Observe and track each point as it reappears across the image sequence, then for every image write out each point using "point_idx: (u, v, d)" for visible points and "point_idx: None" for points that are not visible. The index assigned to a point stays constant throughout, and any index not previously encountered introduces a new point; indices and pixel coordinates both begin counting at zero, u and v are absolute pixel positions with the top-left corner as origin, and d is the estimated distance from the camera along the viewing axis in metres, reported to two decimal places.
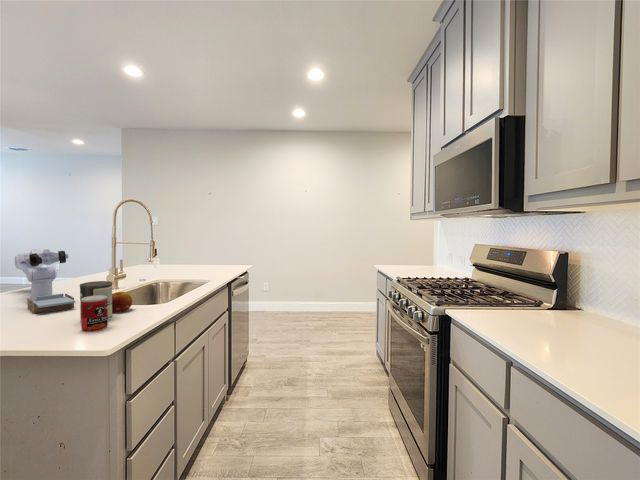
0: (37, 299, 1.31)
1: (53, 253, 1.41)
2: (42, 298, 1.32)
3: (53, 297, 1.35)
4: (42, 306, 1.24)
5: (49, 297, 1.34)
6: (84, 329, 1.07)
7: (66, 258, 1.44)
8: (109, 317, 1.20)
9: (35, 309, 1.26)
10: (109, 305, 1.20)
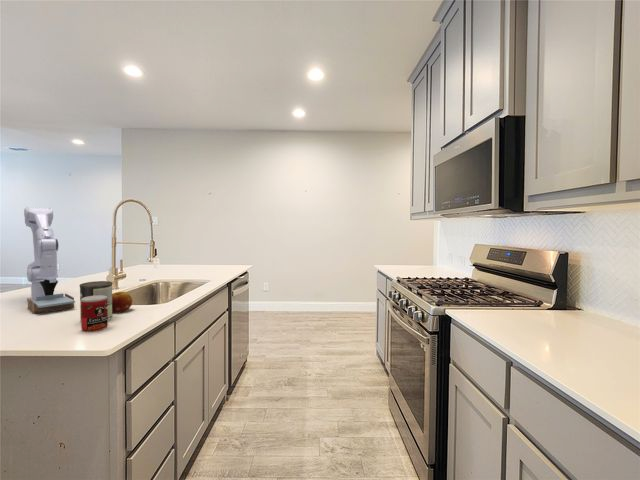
0: (37, 299, 1.31)
1: (44, 279, 1.33)
2: (42, 298, 1.32)
3: (53, 297, 1.35)
4: (42, 306, 1.24)
5: (49, 297, 1.34)
6: (84, 329, 1.07)
7: (55, 281, 1.32)
8: (109, 317, 1.20)
9: (35, 309, 1.26)
10: (109, 305, 1.20)
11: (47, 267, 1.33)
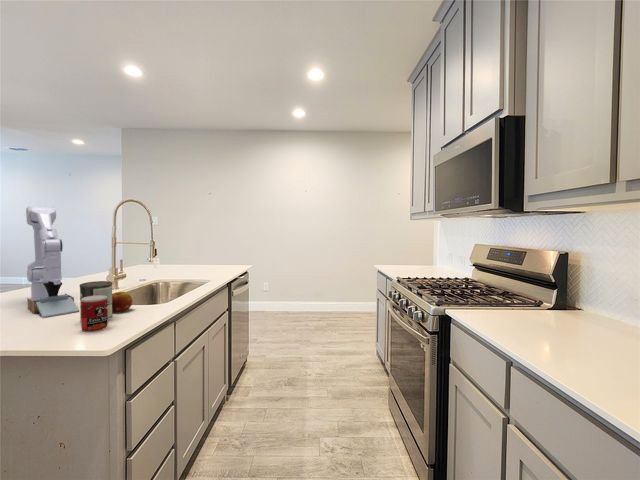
0: (41, 301, 1.27)
1: (48, 280, 1.29)
2: (46, 300, 1.29)
3: (57, 299, 1.32)
4: (46, 316, 1.21)
5: (53, 299, 1.30)
6: (84, 329, 1.07)
7: (60, 283, 1.28)
8: (109, 317, 1.20)
9: (35, 309, 1.26)
10: (109, 305, 1.20)
11: (51, 268, 1.29)
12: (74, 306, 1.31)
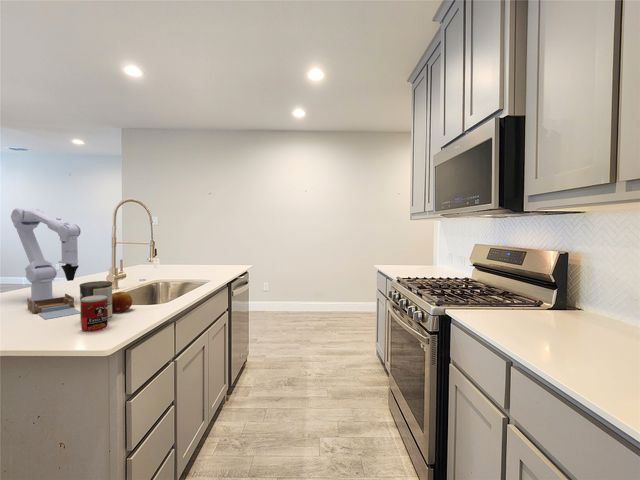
0: (43, 311, 1.26)
1: (66, 263, 1.40)
2: (48, 310, 1.28)
3: (59, 308, 1.31)
4: None
5: (55, 309, 1.29)
6: (84, 329, 1.07)
7: (77, 265, 1.40)
8: (109, 317, 1.20)
9: (35, 309, 1.26)
10: (109, 305, 1.20)
11: (69, 252, 1.40)
12: (76, 311, 1.29)
